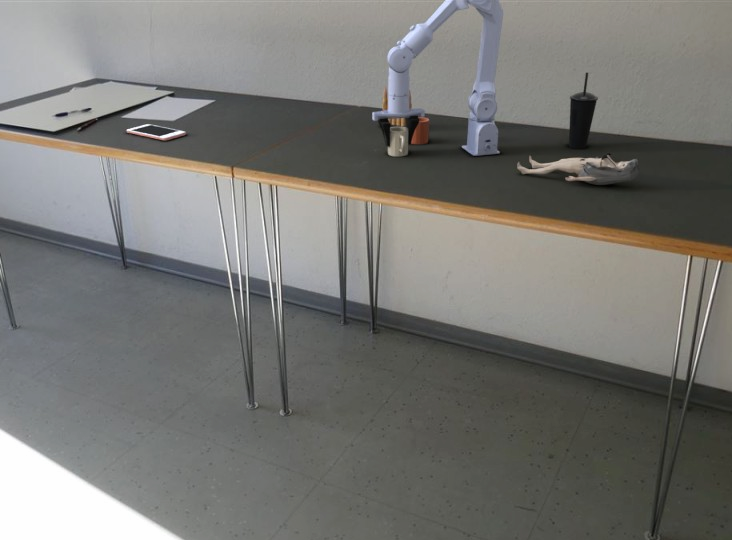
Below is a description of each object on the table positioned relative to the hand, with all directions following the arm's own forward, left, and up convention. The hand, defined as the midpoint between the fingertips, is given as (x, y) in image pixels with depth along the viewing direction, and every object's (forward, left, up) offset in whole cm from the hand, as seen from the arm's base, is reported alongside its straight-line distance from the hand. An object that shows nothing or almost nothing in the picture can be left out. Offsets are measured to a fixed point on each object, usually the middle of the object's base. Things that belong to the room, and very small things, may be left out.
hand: (398, 144), depth 226 cm
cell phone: (+44, +65, -2) cm, 79 cm away
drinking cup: (-9, -51, -3) cm, 52 cm away
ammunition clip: (+27, -8, -3) cm, 28 cm away
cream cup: (-1, 0, -2) cm, 3 cm away
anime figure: (-37, -36, -3) cm, 52 cm away
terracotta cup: (+11, -9, -3) cm, 15 cm away
